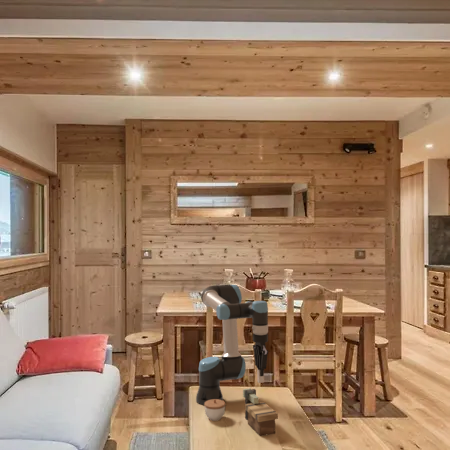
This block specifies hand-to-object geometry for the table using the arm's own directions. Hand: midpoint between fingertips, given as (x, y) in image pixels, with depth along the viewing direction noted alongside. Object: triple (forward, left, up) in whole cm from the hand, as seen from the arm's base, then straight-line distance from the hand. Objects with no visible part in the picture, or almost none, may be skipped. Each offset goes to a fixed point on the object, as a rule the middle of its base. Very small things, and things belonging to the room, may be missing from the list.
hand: (260, 382), depth 212 cm
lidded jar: (-20, -17, -23) cm, 34 cm away
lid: (0, 0, -15) cm, 15 cm away
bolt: (-12, 0, -13) cm, 17 cm away
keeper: (-13, 0, -22) cm, 26 cm away
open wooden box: (0, 0, -22) cm, 22 cm away
